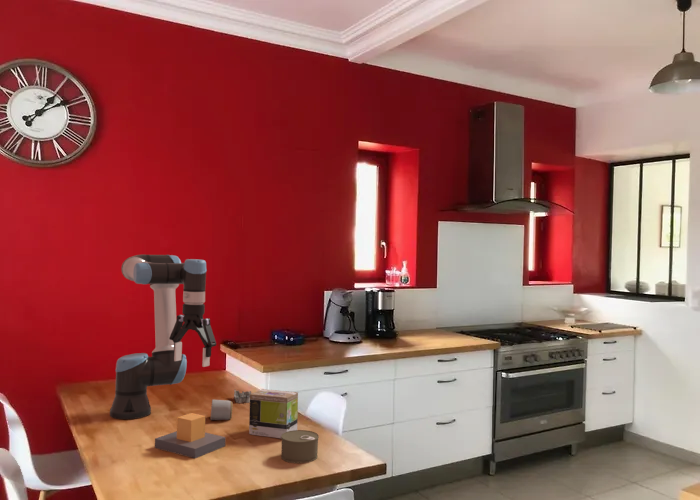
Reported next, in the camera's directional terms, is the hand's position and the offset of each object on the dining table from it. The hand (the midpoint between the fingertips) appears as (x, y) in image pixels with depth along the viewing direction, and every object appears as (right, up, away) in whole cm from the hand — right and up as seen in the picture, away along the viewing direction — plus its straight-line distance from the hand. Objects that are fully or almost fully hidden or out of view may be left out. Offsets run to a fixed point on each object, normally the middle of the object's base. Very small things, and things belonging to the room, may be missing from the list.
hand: (191, 363), depth 202 cm
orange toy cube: (+3, -23, -11) cm, 25 cm away
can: (+40, -27, -18) cm, 51 cm away
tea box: (+28, -27, +5) cm, 39 cm away
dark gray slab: (+3, -26, -11) cm, 28 cm away
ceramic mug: (+5, -26, +22) cm, 35 cm away
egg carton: (+8, -27, +51) cm, 59 cm away
